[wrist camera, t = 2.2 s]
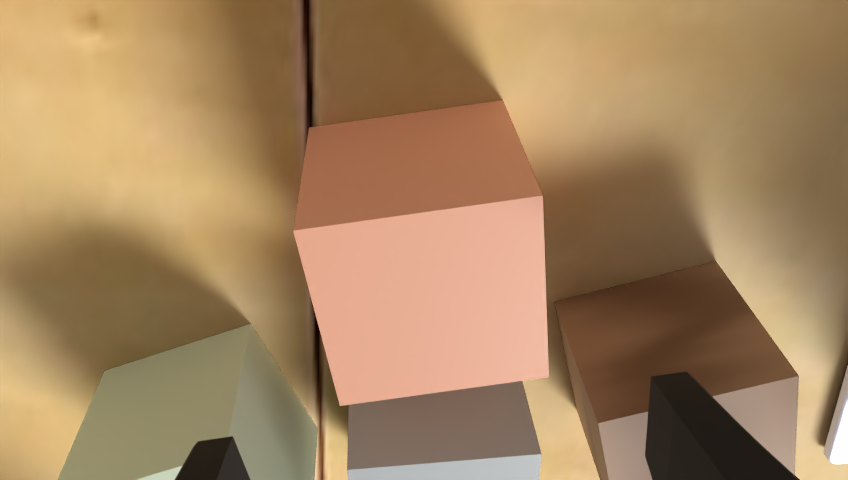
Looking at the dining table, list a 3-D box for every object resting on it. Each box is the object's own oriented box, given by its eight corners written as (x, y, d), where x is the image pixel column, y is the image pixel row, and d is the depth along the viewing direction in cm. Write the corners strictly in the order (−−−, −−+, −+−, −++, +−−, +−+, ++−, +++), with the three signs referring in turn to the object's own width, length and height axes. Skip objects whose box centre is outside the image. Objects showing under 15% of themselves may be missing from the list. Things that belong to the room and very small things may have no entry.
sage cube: (250, 321, 22) (224, 452, 18) (317, 426, 24) (309, 561, 20) (105, 368, 22) (46, 506, 18) (186, 465, 25) (150, 604, 21)
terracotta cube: (502, 98, 18) (542, 195, 14) (512, 257, 21) (549, 377, 17) (309, 125, 18) (293, 230, 14) (344, 280, 21) (340, 406, 17)
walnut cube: (714, 259, 22) (799, 375, 17) (719, 374, 24) (793, 498, 20) (553, 300, 22) (598, 423, 18) (576, 408, 25) (619, 537, 21)
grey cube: (508, 327, 23) (541, 454, 18) (503, 435, 25) (531, 566, 21) (349, 339, 22) (347, 470, 18) (362, 447, 25) (363, 581, 21)
